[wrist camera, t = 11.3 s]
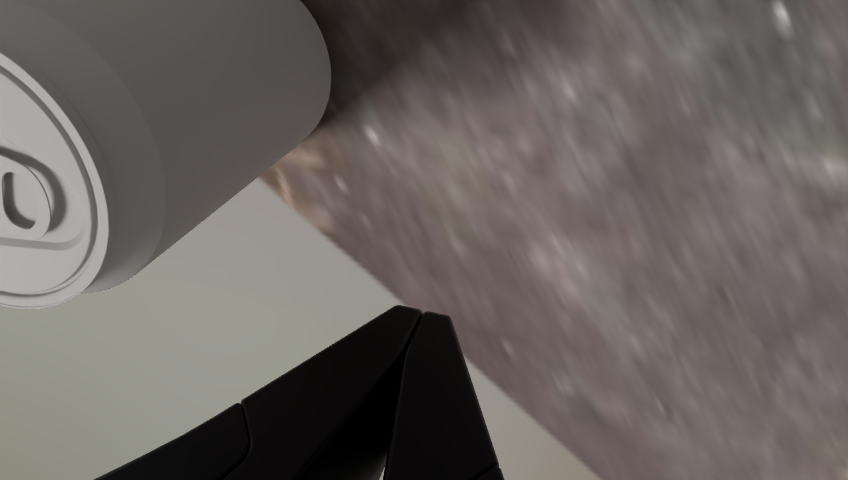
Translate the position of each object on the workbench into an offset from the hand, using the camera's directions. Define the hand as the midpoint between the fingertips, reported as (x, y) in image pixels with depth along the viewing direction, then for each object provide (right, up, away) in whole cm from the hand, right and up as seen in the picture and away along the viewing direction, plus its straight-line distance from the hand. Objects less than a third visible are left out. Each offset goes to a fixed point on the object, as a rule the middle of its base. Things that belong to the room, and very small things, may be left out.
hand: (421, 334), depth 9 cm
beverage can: (-6, +8, +13) cm, 16 cm away
